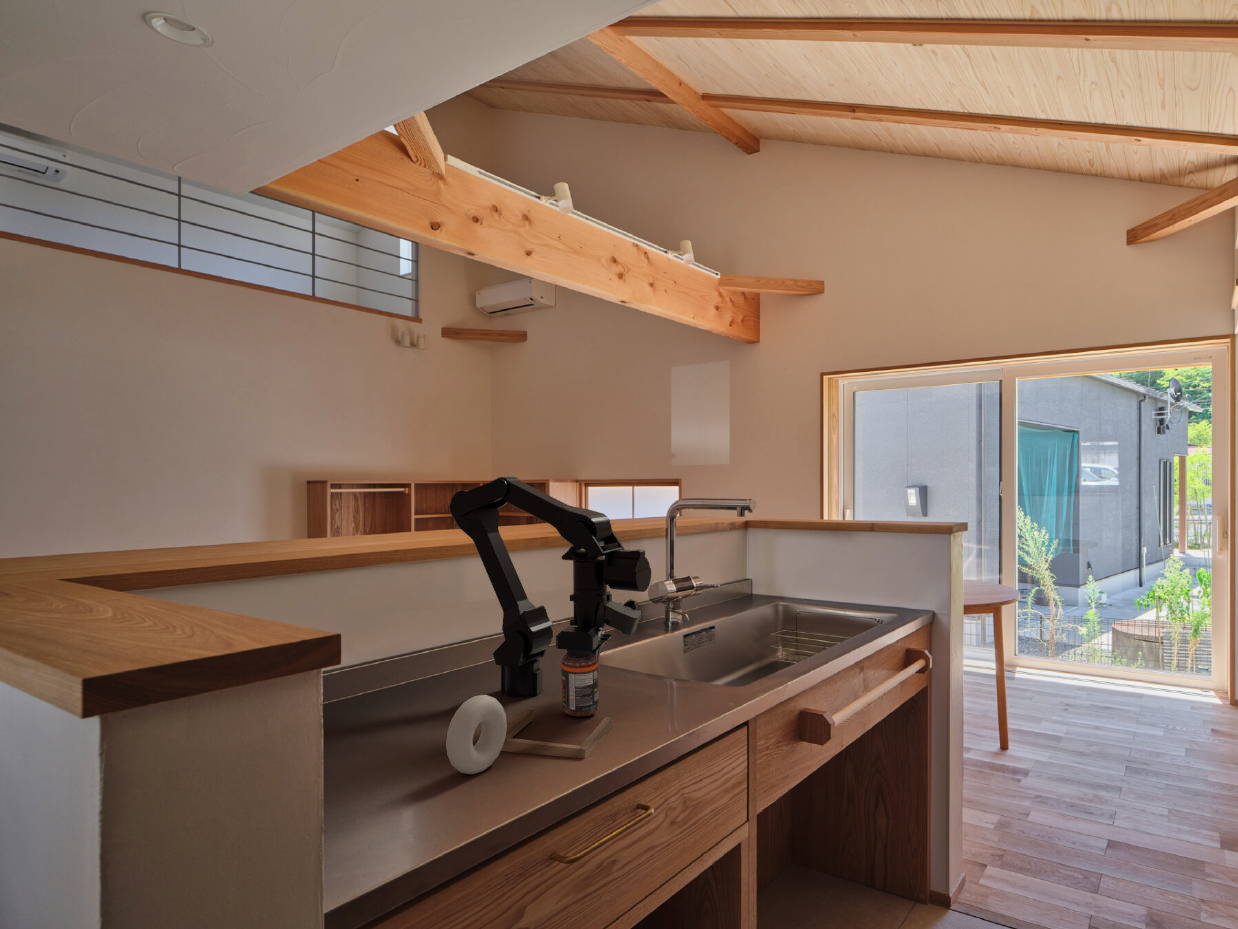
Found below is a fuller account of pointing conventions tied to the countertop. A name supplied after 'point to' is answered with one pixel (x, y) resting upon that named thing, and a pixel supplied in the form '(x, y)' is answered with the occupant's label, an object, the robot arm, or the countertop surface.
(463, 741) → the donut
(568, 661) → the supplement bottle
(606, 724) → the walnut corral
